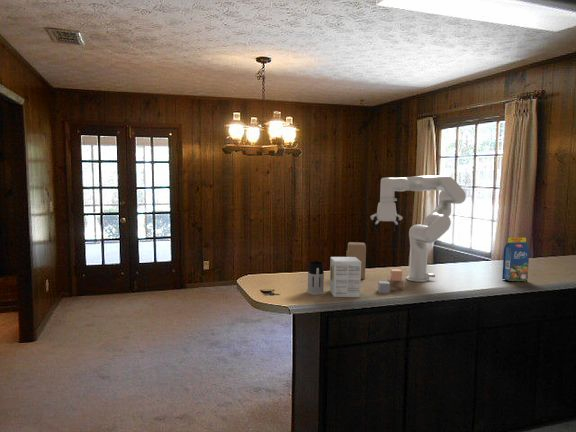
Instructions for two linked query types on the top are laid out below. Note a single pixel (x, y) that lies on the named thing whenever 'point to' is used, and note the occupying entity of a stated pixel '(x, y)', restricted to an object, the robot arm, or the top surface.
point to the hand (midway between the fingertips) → (386, 231)
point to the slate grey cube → (383, 287)
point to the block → (358, 254)
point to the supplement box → (345, 276)
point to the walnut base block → (395, 284)
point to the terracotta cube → (396, 274)
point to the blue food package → (516, 260)
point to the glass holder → (316, 278)
